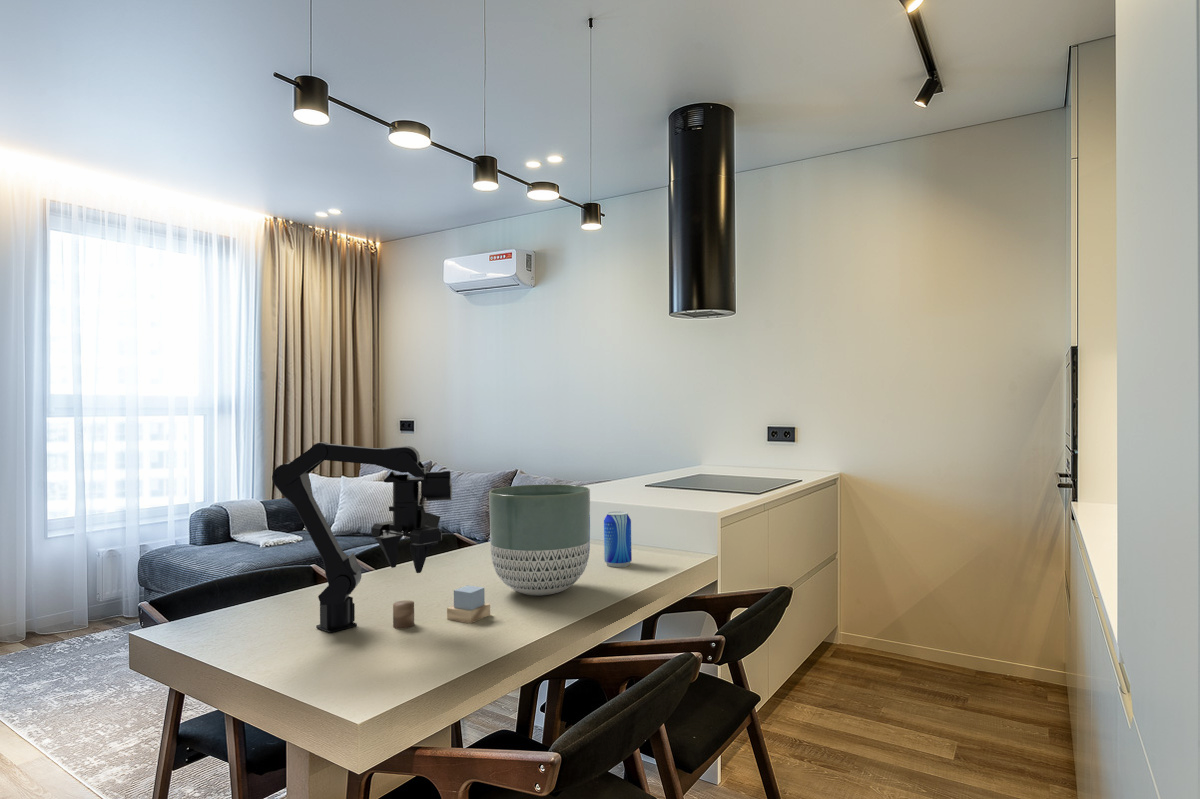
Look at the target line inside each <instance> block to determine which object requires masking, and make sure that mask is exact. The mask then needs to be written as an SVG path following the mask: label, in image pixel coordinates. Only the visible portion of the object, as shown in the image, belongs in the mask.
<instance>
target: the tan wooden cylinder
mask: <svg viewBox="0 0 1200 799" xmlns="http://www.w3.org/2000/svg"><path fill="white" fill-rule="evenodd" d="M392 623H393V624H392V626H393V627H392V628H394V629H397V630H398V629H399V630H402V629H409V628H412V627H414V626H415V601H413V600H409V599H408V600H407V599H406V600H399V601H395V602H393V604H392Z"/></svg>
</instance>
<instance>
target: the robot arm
mask: <svg viewBox="0 0 1200 799" xmlns="http://www.w3.org/2000/svg"><path fill="white" fill-rule="evenodd" d="M420 456H421V455H420V452H419V451H418V450H417V449H416V448H415V447H413V446H410V445H405V446H403V445H402V446H391V447H380V448H377V447H368V446H359V445H357V446H356V445H348V444H347V445H346V444H336V443H335V444H334V443H328V442H327V441H326V442H325V441H323V442H322V441H321V442H317V443H314V444H313V445H312V446H311V447H310V448H309V449H307V450H306V451H305V452H304V453H301V454H300V455H299V456H297V457H296V458H295V459H293V460H292V461H290V462H286V463H283V464H280V465H278V466H277V467H276V468H274V470H273V473H272V476H271V479H272V483H273V484H274V486H275V488H276V489H278V491H279V493H280V494H281V495H282V496H283V497H284V498H285V499H287V501H288V502H290V503H291V505H293V507H294V509H295V510H296V512H297V514H298V516H299V517H300V520H301V521H302V523H303V525H304V527H305V529H306V530H307V533H308V534H309V536H310V538H311V541H312V543H313V544H314V546H315V547H316V550H317V551H318V554H319V556H320V557H321V559H322V562H323V566H324V573H325V577H326V580H327V584H328V585H327V586H326V587H325V588H324V590H322V591H321V593H319V595H318V596H317V598H318V600H319V624H317V625H316V628H317V629H319V630H321V631H325V632H327V633H336V632H339V631H343V630H346V629H351V628H353V627H357V625H358V623H356V622H355V621H356V620H355V618H356V615H355V613H356V612H355V611H356V609H355V603H354V597H352V596H350V595H351V594H352V593H353V591H354V590H355V589H356V587H357V586H358V585H359V584H360V582H361V579H362V571H361V570H362V569H363V566H361V565H360V563H359V562H358V561H357V557H356V554H355V552H352V553H351V554H347V553H345V552H344V551H343V549H342V548H341V546H340V544H339V542H338V541H337V539H336V537H335V535H334V532H333V531H332V529H331V527H330V525H329V523H328V522H327V519H326V518H325V516H324V514H323V513H322V511H321V509H320V507H319V505H318V503H317V501H316V499H315V497H314V494H313V488H312V482H311V479H310V476H309V474H310V473H311V472H312V471H314V470H315V469H316V468H317V467H319V466H320V465H321V464H322V463H324V462H325V461H328V462H329V461H330V462H341V463H350V464H351V463H352V464H353V463H354V464H362V465H375V466H378V467H382V468H384V469H387V470H390V472H389V474H388V475H387V477H385V478H384V479H383V482H384V483H392V505H391V506H388V511H389V512H392V520H388V521H383V522H382V521H381V522H377V523H376V522H375V523H374V524H373V525H372V526H371V527H370V528H371V530H370V531H371V532H370V533H371V534H370V535H371V536H372V537H374V540H375V541H376V542H377V544H379V547H380V549H381V551H382V552H383V554H384V556H385V558H386V560H387V562H388V564H389V566H390V568H391V569H392V568H396V567H397V563H398V550H399V547H398V546H399V542H400V541H401V539H402V538H403V537H408V538H409V540H410V542H411V543H409V550H410V553H411V558H412V562H413V566H414V571H415V573H417V574H421V573H422V572H423V569H424V566H425V562H426V559H427V556H428V554H429V552H430V550H431V549H432V547H433V546H434V545H437V544H438V543H439V542H440V541H441V542H442V541H443V531H442V529H440V528H439V524H440V521H441V516H439V515H436V514H433V513H430V512H426V510H425V508H424V506H423V505H422V504H420V495H421V497H423V498H425V500H426V502H432V501H433V502H438V501H441V502H442V501H452V497H453V483H452V476H451V475H452V474H451V473H452V472H451V470H443V471H428V469H427V467H426V466H424V464H423V463H422V461H421V457H420ZM396 472H398V473H403V474H398V473H396ZM404 473H405V474H404ZM407 473H408V474H407ZM409 474H410V475H412V476H413V477H415V478H413V477H411V476H410V475H409ZM410 477H411V478H410ZM420 483H421V485H419V484H420Z"/></svg>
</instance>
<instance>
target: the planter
mask: <svg viewBox="0 0 1200 799" xmlns="http://www.w3.org/2000/svg"><path fill="white" fill-rule="evenodd" d="M488 505H489V506H488V508H489V536H490V537H489V538H490V542H489V543H490V554H491V555H490V556H491V561H492V562H491V563H492V564H493V569H494V571H495V573H496V575H497V576H498V578H499V579H500V581H502V583H504V584H505V585H506V586H507V587H509V588H510V589H511V590H513V591H515V592H517V593H519V594H524V595H527V596H549V595H554V594H557V593H560V592H563V591H565V590H568V589H569V588H570V587H571V586H573V585H574V584H575V583H576V582H577V581H578V580H579V579H581V577H582V576H583V574H584V573H585V570H586V568H587V565H588V562H589V557H590V550H591V548H590V547H591V539H590V538H591V489H590V488H589V487H588V486H583V485H574V484H550V483H549V484H545V483H544V484H524V485H511V486H502V487H498V488H493V489H491V490H489V492H488Z"/></svg>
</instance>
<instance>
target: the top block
mask: <svg viewBox="0 0 1200 799" xmlns="http://www.w3.org/2000/svg"><path fill="white" fill-rule="evenodd" d="M485 596H486V595H485V587H482V586H475V585H465V586H463V587H459V588H457V589H454V590H453V606H454V608H459V609H465V610H473V609H476V608H478V607H481V606H483V605H485V601H486V600H485V599H486V598H485Z"/></svg>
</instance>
